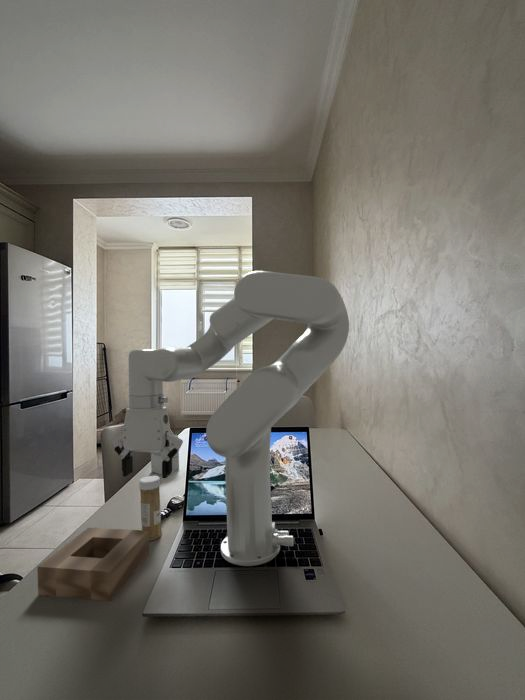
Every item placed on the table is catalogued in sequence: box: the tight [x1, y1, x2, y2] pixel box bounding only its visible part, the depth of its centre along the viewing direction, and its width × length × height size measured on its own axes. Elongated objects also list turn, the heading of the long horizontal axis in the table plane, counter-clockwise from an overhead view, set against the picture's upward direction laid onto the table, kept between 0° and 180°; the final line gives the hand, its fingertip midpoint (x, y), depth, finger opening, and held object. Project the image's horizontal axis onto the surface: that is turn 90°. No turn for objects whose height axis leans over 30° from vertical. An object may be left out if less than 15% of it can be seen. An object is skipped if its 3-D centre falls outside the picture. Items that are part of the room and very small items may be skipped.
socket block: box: [36, 527, 150, 602], centre depth 69 cm, size 14×14×5 cm
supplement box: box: [150, 434, 180, 476], centre depth 128 cm, size 7×7×13 cm
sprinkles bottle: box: [138, 475, 163, 542], centre depth 82 cm, size 5×5×13 cm
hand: (147, 475), depth 82 cm, fingers open, 9 cm apart
